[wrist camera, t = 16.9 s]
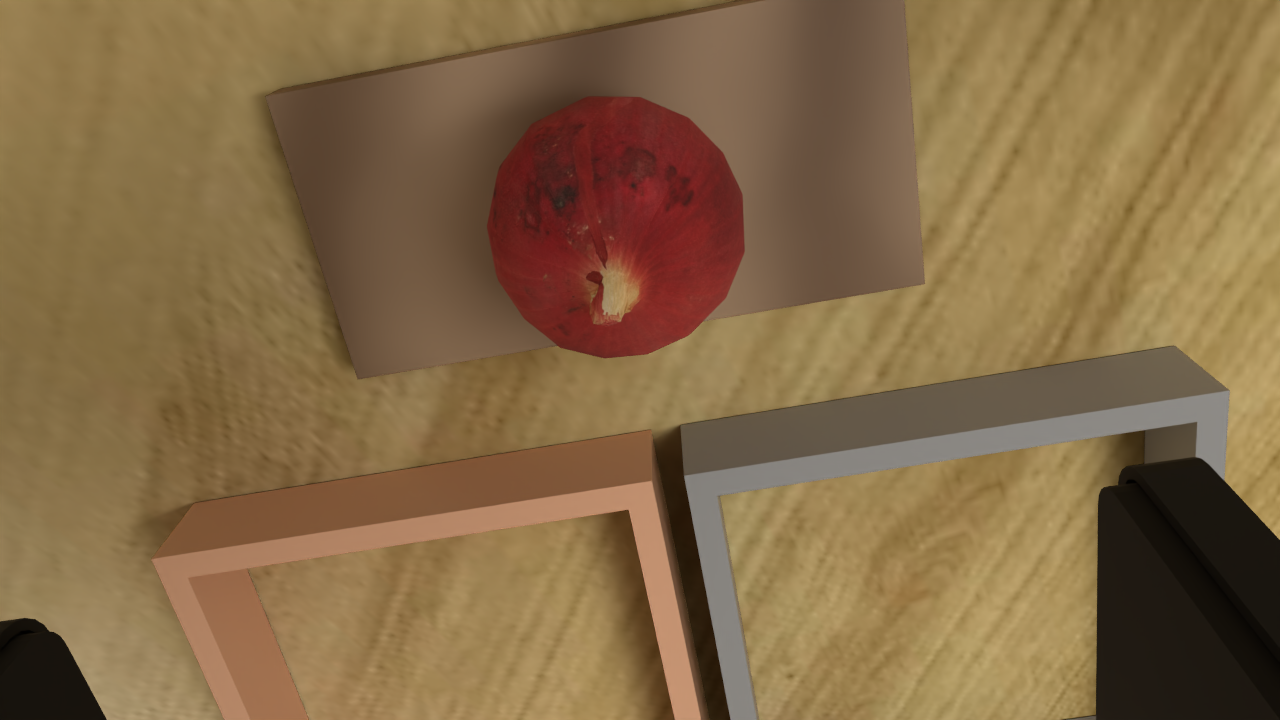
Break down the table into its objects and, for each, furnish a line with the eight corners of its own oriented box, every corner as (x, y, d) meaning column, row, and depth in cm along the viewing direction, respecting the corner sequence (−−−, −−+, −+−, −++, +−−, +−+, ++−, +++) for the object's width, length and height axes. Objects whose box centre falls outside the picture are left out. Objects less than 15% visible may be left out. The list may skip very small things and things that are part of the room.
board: (891, -29, 25) (902, -26, 24) (914, 269, 28) (924, 284, 27) (280, 88, 26) (265, 96, 25) (368, 362, 30) (357, 379, 29)
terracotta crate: (651, 429, 31) (651, 481, 28) (722, 782, 36) (728, 853, 34) (194, 503, 32) (151, 559, 29) (333, 833, 37) (309, 906, 35)
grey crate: (1175, 345, 29) (1229, 390, 27) (1161, 724, 35) (1205, 793, 32) (680, 425, 30) (684, 475, 28) (747, 779, 36) (755, 850, 34)
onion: (468, 137, 26) (397, 227, 18) (670, 30, 25) (679, 80, 17) (576, 325, 28) (551, 473, 21) (767, 235, 27) (812, 356, 19)
